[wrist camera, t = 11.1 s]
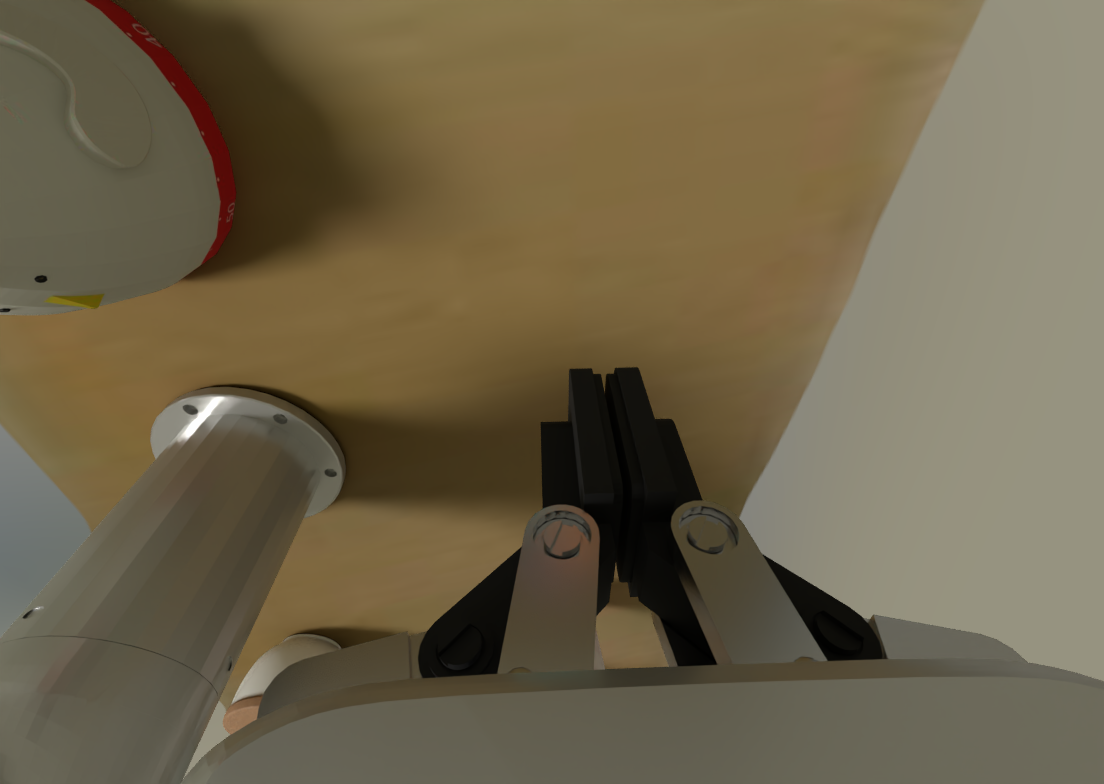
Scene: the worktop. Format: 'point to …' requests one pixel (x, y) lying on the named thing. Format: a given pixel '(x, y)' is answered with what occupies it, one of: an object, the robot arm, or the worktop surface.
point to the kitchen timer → (101, 160)
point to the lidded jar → (271, 675)
